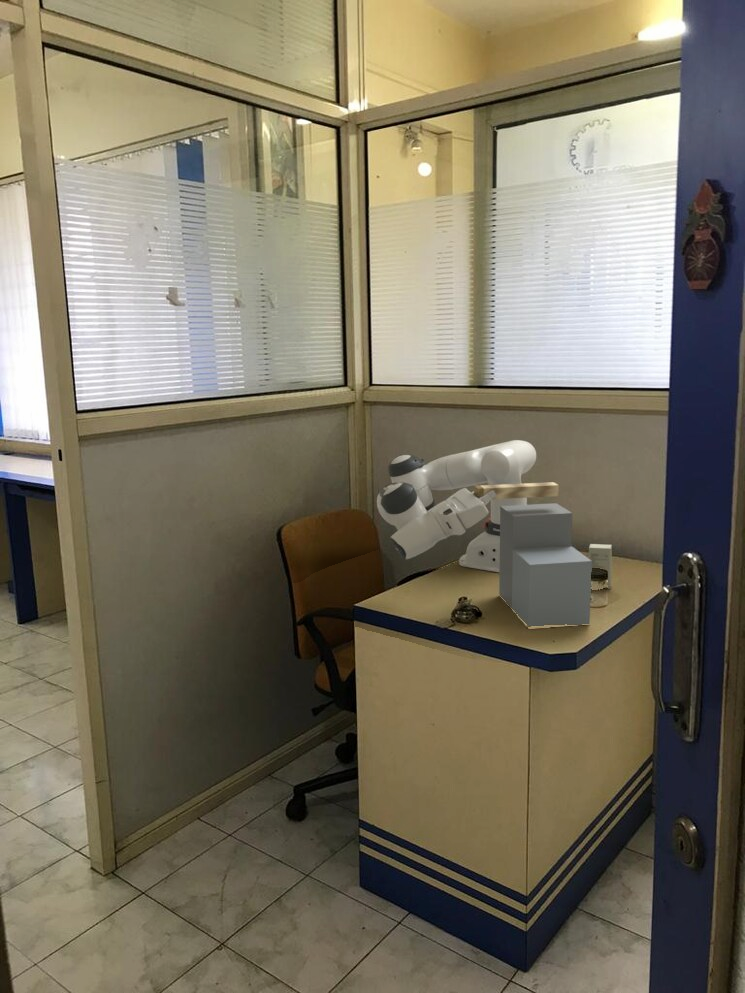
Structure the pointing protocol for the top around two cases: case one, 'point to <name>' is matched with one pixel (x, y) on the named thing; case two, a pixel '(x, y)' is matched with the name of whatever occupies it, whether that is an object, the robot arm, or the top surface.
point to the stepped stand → (543, 566)
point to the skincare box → (601, 558)
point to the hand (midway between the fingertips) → (491, 490)
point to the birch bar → (518, 490)
